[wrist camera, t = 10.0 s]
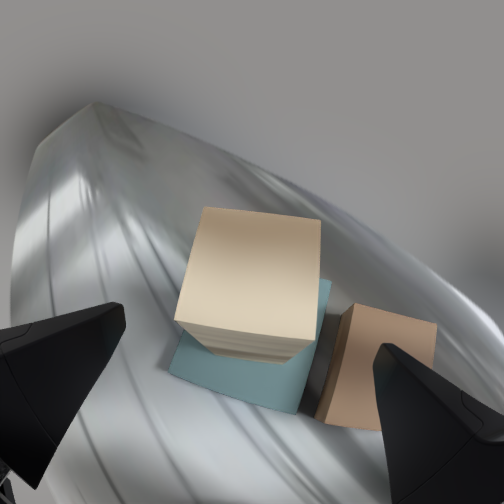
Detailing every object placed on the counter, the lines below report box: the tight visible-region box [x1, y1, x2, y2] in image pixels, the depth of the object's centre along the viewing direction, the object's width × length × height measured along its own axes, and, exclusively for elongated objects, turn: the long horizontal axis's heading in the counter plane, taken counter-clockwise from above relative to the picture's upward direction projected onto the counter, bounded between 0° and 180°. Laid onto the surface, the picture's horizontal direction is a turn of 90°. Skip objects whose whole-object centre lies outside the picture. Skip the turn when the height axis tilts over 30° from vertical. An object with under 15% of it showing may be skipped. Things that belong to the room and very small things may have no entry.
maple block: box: [174, 207, 321, 365], centre depth 14 cm, size 4×4×10 cm
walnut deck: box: [314, 303, 437, 431], centre depth 16 cm, size 8×7×3 cm
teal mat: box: [168, 278, 332, 415], centre depth 18 cm, size 10×9×1 cm
